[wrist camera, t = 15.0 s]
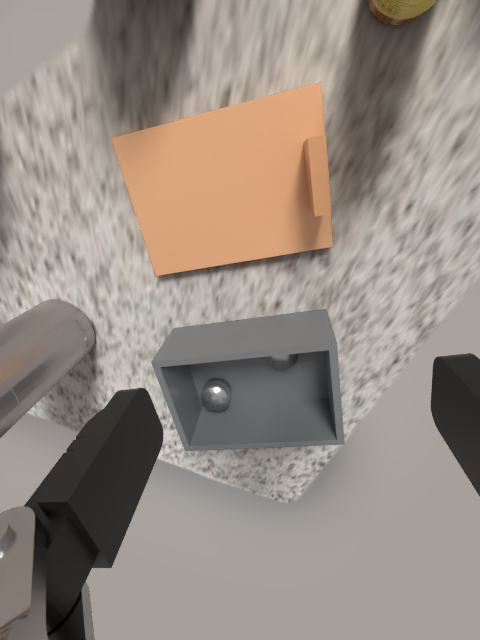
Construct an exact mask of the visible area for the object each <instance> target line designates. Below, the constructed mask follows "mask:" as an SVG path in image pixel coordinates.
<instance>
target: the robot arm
mask: <svg viewBox="0 0 480 640" xmlns="http://www.w3.org/2000/svg"><path fill="white" fill-rule="evenodd" d="M94 344H95V332H94V329H93V326H92V324H91V323H90V321H89V319H88V318H87V317H86V316H85V314H84V313H82V312H81V311H80V310H79V309H78V308H76V307H75V306H73V305H71V304H69V303H67V302H64V301H60V300H48V301H45V302H42V303H40V304H39V305H37V306H35V307H33V308H32V309H30V310H28V311H26V312H25V313H23V314H21V315H19V316H17V317H16V318H14V319H12V320H10V321H9V322H7V323H5V324H3V325H2V326H0V438H1V437H2V436H3V435H4V434H5V433H6V432H7V431H8V430H9V429H10V428H11V427H12V426H13V425H14V424H15V423H16V422H17V421H18V420H19V419H20V418H21V417H22V416H23V415H25V414H26V413H27V412H28V411H29V410H30V409H31V408H32V407H33V406H34V405H35V404H36V403H37V402H38V401H39V400H40V399H41V398H42V397H43V396H44V395H45V394H46V393H47V392H48V391H49V390H50V389H52V388H53V387H54V386H55V385H56V384H57V383H58V382H59V381H60V380H61V379H62V378H63V377H64V376H65V375H66V374H67V373H68V372H69V371H70V370H71V369H72V368H73V367H74V366H75V365H77V364H78V363H79V362H80V361H81V360H82V359H83V358H84V357H85V356H86V355H87V354H88V353H89V352H90V351H91V349H92V348H93V346H94ZM431 411H432V416H433V419H434V422H435V425H436V427H437V428H438V431H439V432H440V434H441V435H442V437H443V438H444V440H445V442H446V443H447V445H448V447H449V448H450V450H451V451H452V453H453V454H454V456H455V458H456V459H457V461H458V462H459V464H460V466H461V467H462V469H463V470H464V472H465V474H466V475H467V477H468V478H469V480H470V481H471V483H472V485H473V486H474V488H475V490H476V491H477V493H478V494H479V496H480V359H479V358H477V357H476V356H475V355H473V354H471V353H469V354H460V355H450V356H441V357H436V358H435V360H434V364H433V377H432V393H431ZM162 443H163V428H162V425H161V422H160V420H159V417H158V415H157V413H156V410H155V408H154V405H153V403H152V400H151V398H150V395H149V393H148V391H147V390H146V389H144V388H138V389H129V390H120V391H118V392H116V394H115V395H114V396H113V398H112V399H111V400H110V402H109V403H108V404H107V406H106V407H105V409H102V410H101V411H100V412H99V413H98V414H96V415H95V416H94V417H93V418H92V419H90V420H89V421H88V422H87V423H86V425H85V426H84V427H83V428H82V430H81V431H80V432H79V434H78V435H77V436H76V440H74V441H73V442H72V443H71V444H70V446H69V447H68V448H67V452H66V453H64V454H63V455H62V457H61V458H60V459H59V460H58V462H57V463H56V464H55V466H54V467H53V468H52V470H51V471H50V472H49V474H48V475H47V476H46V478H45V479H44V480H43V482H42V483H41V484H40V486H39V487H38V488H37V490H36V491H35V492H34V494H33V495H32V496H31V498H30V499H29V500H28V502H27V503H26V504H25V505H24V506H22V507H15V508H12V509H9V510H7V511H4V512H2V513H1V514H0V640H95V639H94V630H93V620H92V610H91V601H90V593H89V592H90V591H89V587H88V585H87V583H86V579H87V576H88V575H89V572H90V570H91V568H111V567H112V565H113V563H114V560H115V558H116V555H117V553H118V551H119V548H120V546H121V543H122V541H123V539H124V536H125V534H126V531H127V529H128V527H129V524H130V522H131V519H132V517H133V515H134V512H135V510H136V507H137V505H138V503H139V500H140V498H141V495H142V493H143V491H144V488H145V486H146V483H147V481H148V479H149V476H150V474H151V471H152V469H153V466H154V464H155V462H156V459H157V457H158V454H159V452H160V450H161V447H162Z"/></svg>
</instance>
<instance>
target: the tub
mask: <svg viewBox="0 0 480 640" xmlns="http://www.w3.org/2000/svg"><path fill="white" fill-rule="evenodd" d="M297 353H298V360H297V362H296V364H295V365H294V366H292V367H291V368H288V369H276V368H274V367H272V366H271V365H269V363H268V362H267V360H266V357H267V356H277V355H287V354H297ZM151 363H152V366H153V368H154V371H155V373H156V376H157V379H158V381H159V384H160V386H161V389H162V392H163V394H164V397H165V400H166V402H167V405H168V407H169V410H170V413H171V415H172V418H173V421H174V423H175V426H176V428H177V431H178V434H179V436H180V439H181V441H182V444H183V447H184V449H185V451H198V450H222V449H246V448H270V447H294V446H318V445H342V444H344V432H343V419H342V406H341V393H340V380H339V367H338V353H337V342H336V339H335V335H334V332H333V329H332V326H331V322H330V319H329V316H328V312H327V309H323V310H315V311H307V312H299V313H291V314H283V315H276V316H268V317H260V318H252V319H244V320H236V321H228V322H220V323H212V324H204V325H196V326H188V327H180V328H174V329H173V330H172V332H171V333H170V335H169V336H168V338H167V339H166V341H165V342H164V344H163V345H162V347H161V348H160V350H159V351H158V353H157V354H156V356H155V357H154V359H153V360H152V362H151ZM215 377H218V378H222V379H224V380H226V381H227V382H228V383H229V384H230V386H231V388H232V392H231V396H230V400H229V404H228V406H227V408H226V409H224V410H222V411H211V410H208V409H207V408H205V407H204V406H203V405H202V403H201V401H200V395H201V393H202V390H203V387H204V385H205V383H206V381H207V380H209V379H211V378H215Z"/></svg>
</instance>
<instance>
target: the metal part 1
mask: <svg viewBox="0 0 480 640" xmlns="http://www.w3.org/2000/svg"><path fill="white" fill-rule="evenodd" d="M231 392H232V388H231V386H230V384H229V383H228V382H227V381H226V380H224V379H222V378H218V377H215V378H211V379H209V380H207V381H206V383H205V385H204V387H203V390H202V393H201V395H200V401H201V403H202V405H203V406H204V407H205V408H207V409H208V410H211V411H222V410H224V409H226V408H227V406H228V404H229V400H230V396H231Z"/></svg>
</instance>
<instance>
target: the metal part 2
mask: <svg viewBox="0 0 480 640" xmlns="http://www.w3.org/2000/svg"><path fill="white" fill-rule="evenodd" d="M266 360H267V362H268V363H269V365H271V366H272V367H274V368H276V369H288V368H291V367H292V366H294V365H295V364H296V362H297V360H298V353H297V354H287V355H277V356H267V357H266Z"/></svg>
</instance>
